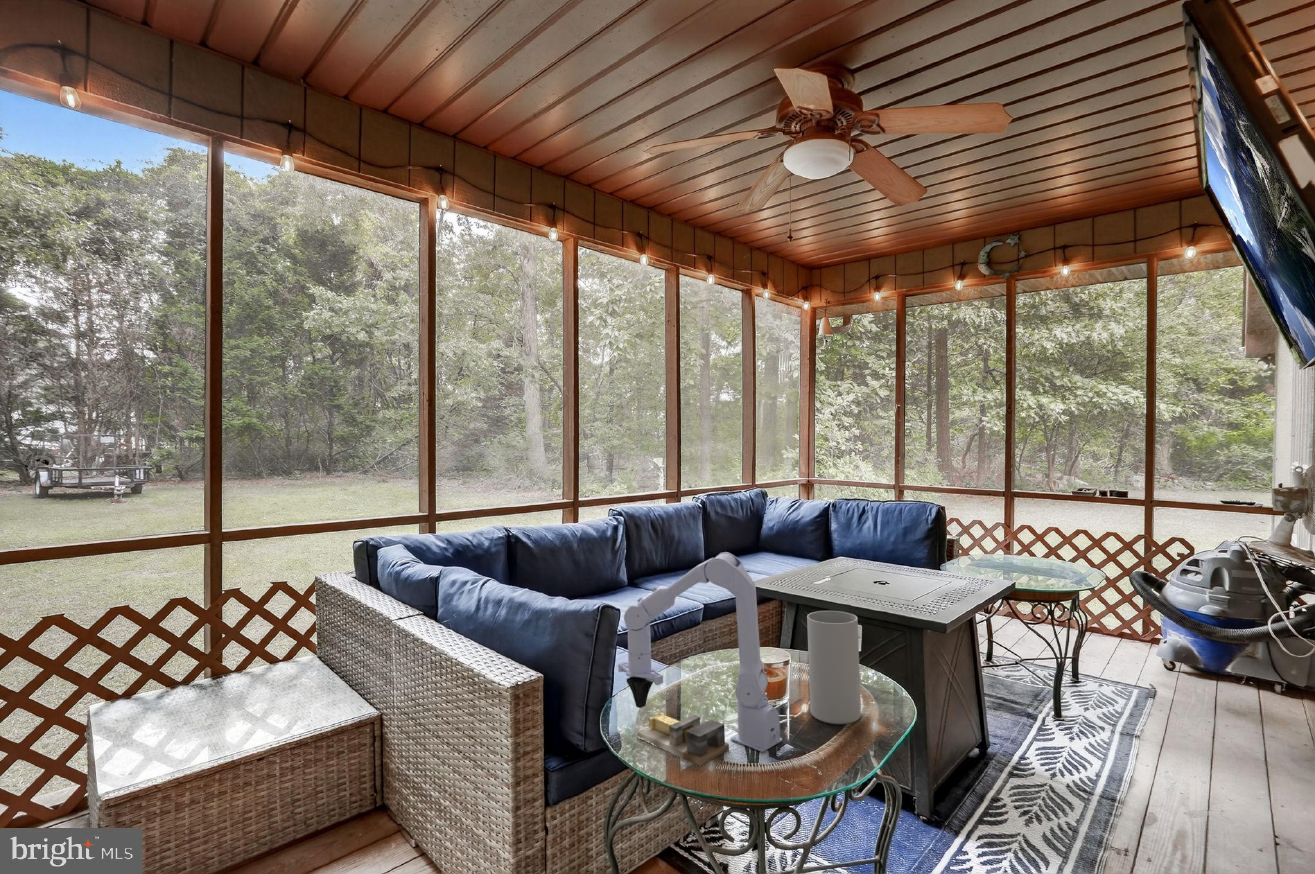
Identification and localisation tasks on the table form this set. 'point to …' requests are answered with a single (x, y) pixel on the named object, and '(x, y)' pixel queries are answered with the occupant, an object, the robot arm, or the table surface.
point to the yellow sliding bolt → (665, 724)
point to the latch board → (690, 739)
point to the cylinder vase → (834, 666)
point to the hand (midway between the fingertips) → (640, 706)
